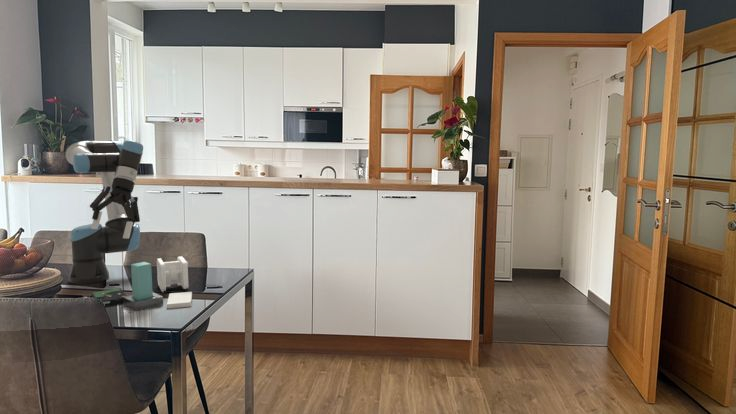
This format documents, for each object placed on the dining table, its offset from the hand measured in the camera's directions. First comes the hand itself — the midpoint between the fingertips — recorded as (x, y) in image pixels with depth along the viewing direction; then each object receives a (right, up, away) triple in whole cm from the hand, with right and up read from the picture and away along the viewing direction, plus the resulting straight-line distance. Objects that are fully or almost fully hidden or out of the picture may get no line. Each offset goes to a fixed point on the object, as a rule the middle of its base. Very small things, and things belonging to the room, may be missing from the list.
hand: (110, 233), depth 194 cm
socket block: (+15, -25, -6) cm, 30 cm away
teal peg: (+15, -25, -6) cm, 30 cm away
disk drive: (0, -25, 0) cm, 25 cm away
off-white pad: (+27, -25, -3) cm, 37 cm away
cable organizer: (+17, -23, +16) cm, 33 cm away
